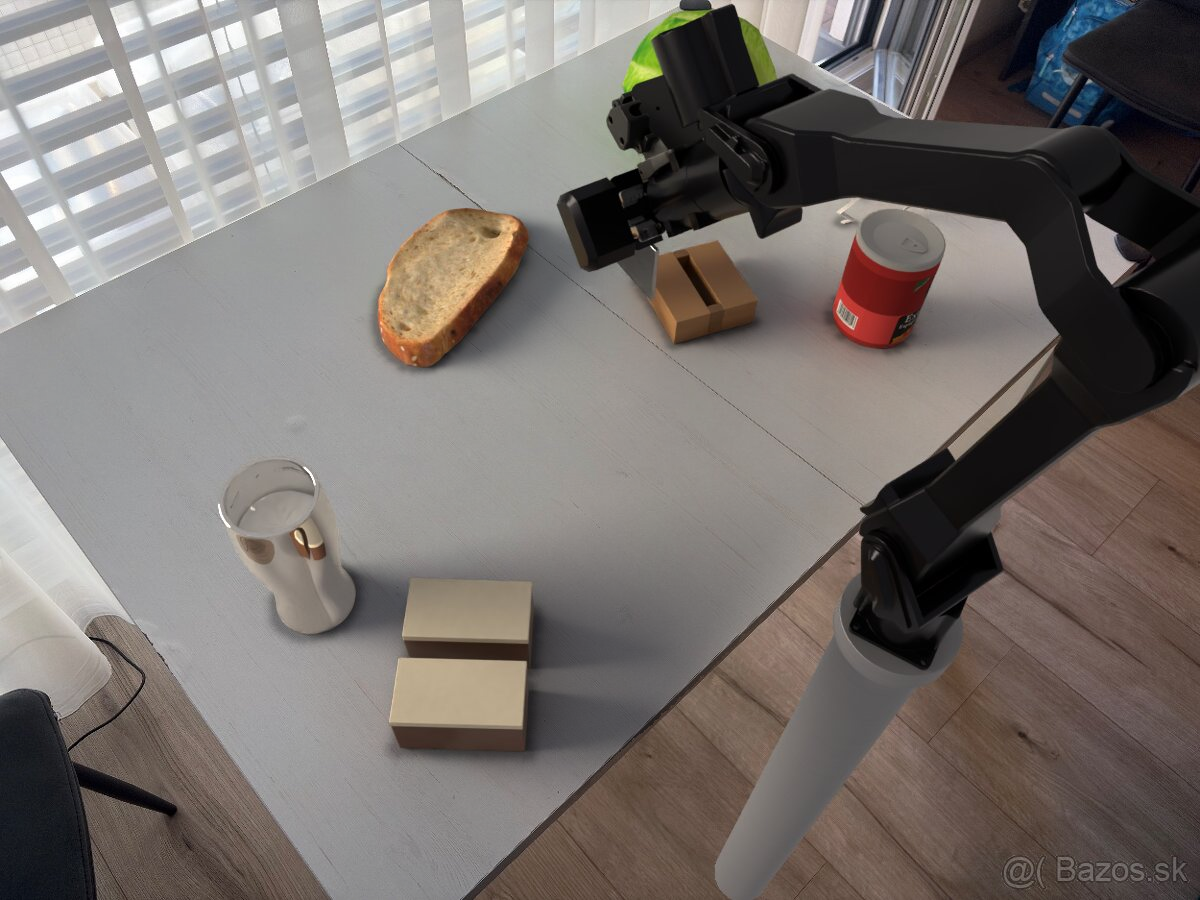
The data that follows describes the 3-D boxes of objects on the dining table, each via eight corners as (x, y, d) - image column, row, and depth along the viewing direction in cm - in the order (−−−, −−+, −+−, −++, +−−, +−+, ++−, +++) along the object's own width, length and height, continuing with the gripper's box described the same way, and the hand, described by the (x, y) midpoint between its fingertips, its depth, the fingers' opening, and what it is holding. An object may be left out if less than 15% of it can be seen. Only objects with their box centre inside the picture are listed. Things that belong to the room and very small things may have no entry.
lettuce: (720, 208, 105) (738, 97, 94) (591, 123, 113) (594, 13, 102) (808, 148, 111) (835, 39, 100) (680, 72, 120) (692, -37, 109)
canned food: (903, 360, 93) (939, 276, 84) (822, 336, 94) (849, 251, 85) (917, 306, 97) (953, 221, 88) (839, 285, 98) (866, 198, 89)
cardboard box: (753, 322, 95) (758, 300, 93) (673, 344, 93) (676, 322, 91) (714, 262, 100) (717, 239, 97) (637, 282, 98) (639, 260, 95)
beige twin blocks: (533, 612, 76) (532, 581, 72) (525, 751, 70) (522, 726, 65) (419, 609, 76) (410, 577, 72) (399, 748, 69) (389, 722, 65)
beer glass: (320, 656, 73) (271, 558, 61) (252, 611, 75) (191, 507, 63) (379, 587, 77) (344, 481, 65) (313, 546, 79) (266, 436, 67)
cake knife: (660, 297, 88) (670, 200, 79) (645, 303, 87) (654, 207, 78) (624, 257, 91) (630, 160, 82) (610, 263, 90) (614, 166, 81)
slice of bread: (398, 377, 90) (392, 350, 87) (345, 253, 99) (338, 224, 96) (576, 322, 94) (576, 295, 91) (509, 209, 104) (507, 180, 101)
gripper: (788, 30, 71) (688, 88, 85) (569, 105, 65) (500, 153, 79) (834, 178, 73) (729, 210, 88) (626, 263, 67) (550, 282, 82)
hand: (630, 211), depth 84 cm, fingers closed on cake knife, 2 cm apart
